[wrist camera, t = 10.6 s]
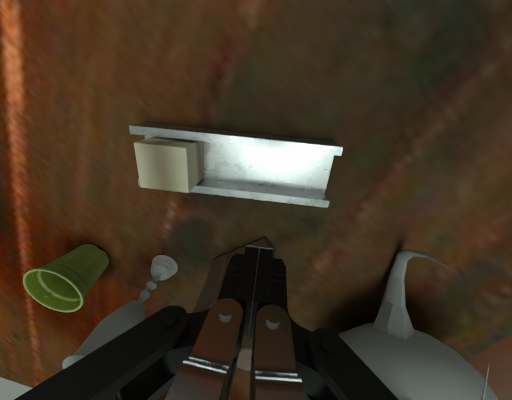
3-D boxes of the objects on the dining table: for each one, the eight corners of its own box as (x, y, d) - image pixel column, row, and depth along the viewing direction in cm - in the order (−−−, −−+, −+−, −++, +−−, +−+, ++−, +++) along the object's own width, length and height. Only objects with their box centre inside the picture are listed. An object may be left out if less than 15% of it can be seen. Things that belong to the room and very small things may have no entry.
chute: (335, 141, 29) (343, 147, 25) (322, 195, 32) (327, 207, 29) (146, 122, 30) (129, 125, 26) (153, 176, 34) (138, 185, 30)
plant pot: (124, 275, 43) (90, 314, 36) (81, 273, 44) (39, 311, 36) (109, 236, 39) (67, 270, 32) (62, 235, 40) (10, 268, 33)
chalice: (152, 244, 39) (63, 347, 23) (187, 259, 40) (125, 368, 24) (143, 271, 42) (61, 378, 26) (176, 284, 43) (115, 396, 27)
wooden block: (214, 257, 39) (169, 369, 23) (265, 235, 36) (256, 346, 20) (225, 271, 41) (189, 387, 24) (275, 251, 38) (274, 368, 21)
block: (203, 139, 29) (186, 148, 24) (203, 176, 32) (188, 192, 26) (160, 134, 30) (133, 142, 24) (163, 172, 32) (140, 187, 26)
